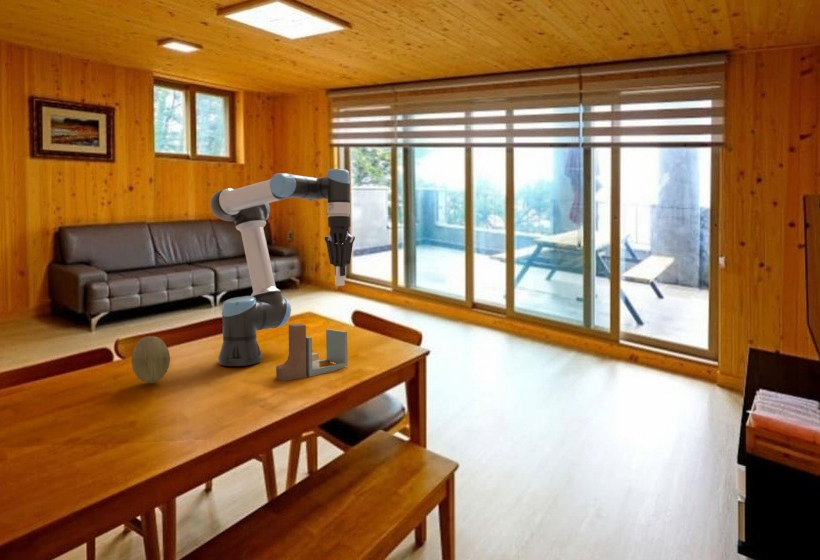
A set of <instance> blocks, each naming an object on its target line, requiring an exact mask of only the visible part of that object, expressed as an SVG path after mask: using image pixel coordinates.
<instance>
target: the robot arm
mask: <svg viewBox="0 0 820 560" xmlns="http://www.w3.org/2000/svg"><path fill="white" fill-rule="evenodd" d="M291 198H293V199H303V200H305V201H313V202H315V201H319V200H327V215H328V217H327V227H328V228H329V229H330V230H329V235H327V236H324V241H325V243H326V248H327V253H328V254H327V255H328V258H329V265H333V266H334V276H335V286H336V287H342V286H343V287H344V286H345V285H346V284H345V283H346V278H345V276H346V266H349V265H350V264H351V260H352V251H353V245H354V241H356V237H355V236H354V235H351V234H350V233H351V232H350V229H349V228H351V217H350V216H351V177H350V172H349V170H348V169H343V168H330V169H328V170H327V175H326V176H324V177H323V176H321V177H312V176H305V175H298V174H291V173H286V172H283V173H281V172H280V173H279V172H278V173H274V174H273V176H271V178H270V179H267V180H264V181H260V182H256V183H253V184H249V185H245V186H242V187H238V188H230V187H228V188H224V189H222V190H221V189H220V190H218V191H216V192H214V193H213V194H212V196H211V198H210V203H209V206H210V210H211V212H212V214H213V215H214V216H215V217H216V218H218V219H220V220H222V221H225V222H233V223H234V225H235V229H236V230H237V231H239V232H240V235H241V239H242V245H243V248H244V249H243V250H244V254H245V258H246V263H247V268H248V269H247V270H248V273H249V278H250V283H251V287H252V293H251V295H245V296H243V295H242V296H237V297H236V296H235V297H231V298H228V299H226V300H225V301H223V303H222V306H221V307H222V308H221V316H222V319H221V320H222V321H221V322H222V345H221V348H220V351H219V355H218V364H219V366H225V367H243V366H250V365H255V364H259V363H261V362H262V361H263V354H262V351H261V348H260V345H259V343H258V340H257V338H258V337H257V332H258V331H263V330H268V329H277V328H280V327H283V326H285V325H286V324H287V323H288V322H289V320H290V318H291V313H292V307H291V306H292V305H291V302H290V301H289V300H288V298H287V297H285V296H284V295H282V291H281V289H279V288H277V285H276V282H275V277H274V273H273V268H272V262H271V259H270V254H269V249H268V244H267V243H268V242H267V239H266V235H265V230H264V227H266V225H267V220H268V218H270V217H269V216H270V215H269V214H270V212H271V210H270V209H271V208H270V205H269V204H270V203H274V202H278V201H283V200H286V199H291Z"/></svg>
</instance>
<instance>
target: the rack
mask: <svg viewBox="0 0 820 560" xmlns="http://www.w3.org/2000/svg"><path fill="white" fill-rule="evenodd" d="M325 330H326V331H325V334H326V336H325V337H326V339H325V342H326V344H325V345H326V348H325V349H326V358H325V359H321V360H320V359H319V364H321V363H325V362H330V361H331V362H334V363H336V364H330V365H326V366H319V367H320V368H316V369H312V352H313V338H312V337H310V336H306V377H308V378H309V377H314V376H318V375H319V376H320V375H323V374H326V373H331V372H334V371H338V370H340V369H342V368H344V367H345V366H349V365H348V363H349V361H348V360H349V356H348V354H349V352H348V351H349V350H348V331H345V330H337V329H331V328H327V329H325Z"/></svg>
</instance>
